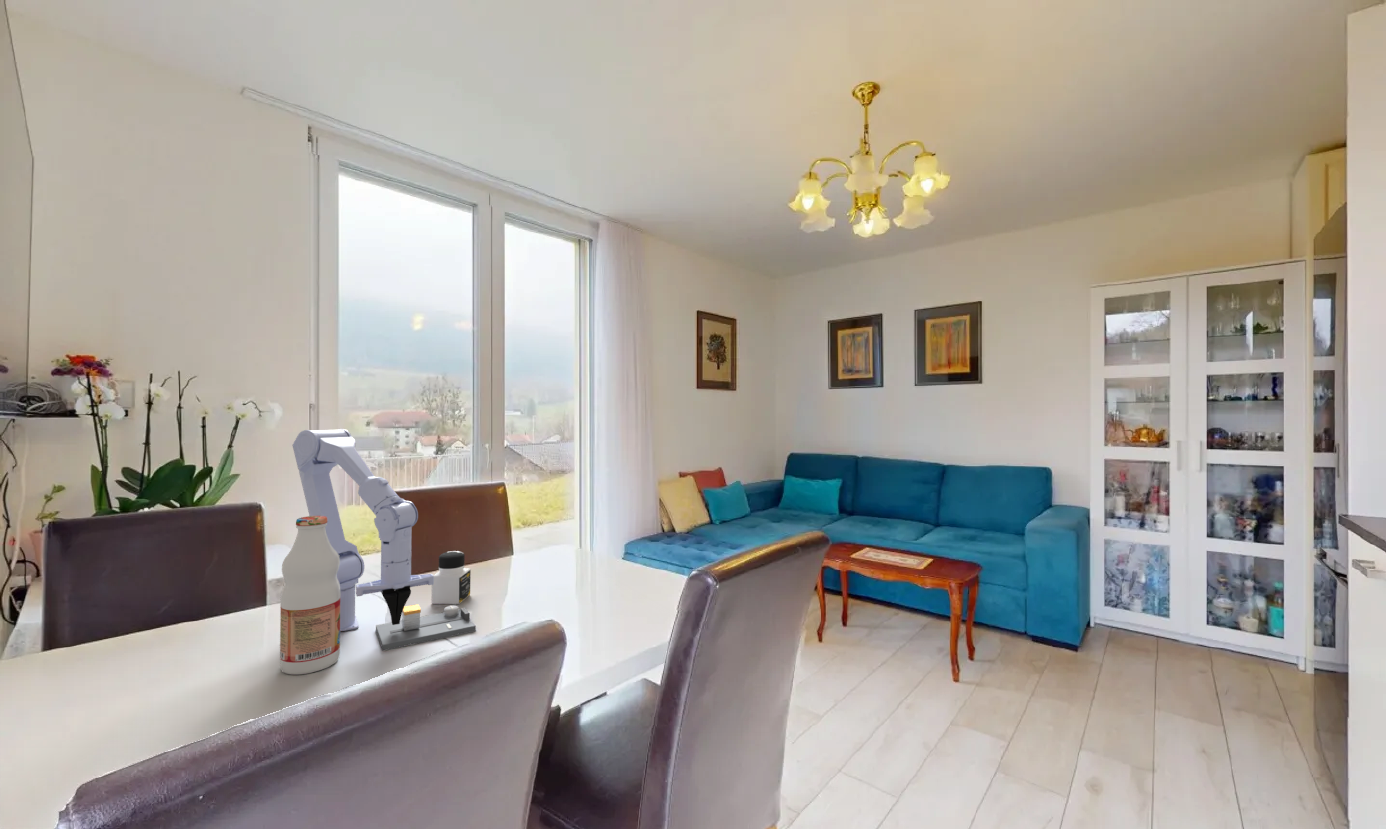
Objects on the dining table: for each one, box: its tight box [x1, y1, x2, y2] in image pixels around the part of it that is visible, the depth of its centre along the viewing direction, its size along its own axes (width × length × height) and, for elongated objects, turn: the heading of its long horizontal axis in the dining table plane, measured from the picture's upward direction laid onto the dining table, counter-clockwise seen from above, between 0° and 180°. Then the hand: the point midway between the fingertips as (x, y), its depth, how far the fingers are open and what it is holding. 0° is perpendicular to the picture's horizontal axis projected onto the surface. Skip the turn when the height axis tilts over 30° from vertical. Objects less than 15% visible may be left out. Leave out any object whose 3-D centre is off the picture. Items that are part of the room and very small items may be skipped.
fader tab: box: [401, 604, 422, 631], centre depth 120 cm, size 3×4×4 cm
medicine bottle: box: [430, 550, 472, 605], centre depth 142 cm, size 7×7×12 cm
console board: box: [375, 605, 477, 651], centre depth 122 cm, size 18×12×3 cm, turn 126°
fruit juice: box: [279, 515, 341, 676], centre depth 105 cm, size 9×9×28 cm
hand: (395, 623), depth 118 cm, fingers closed
